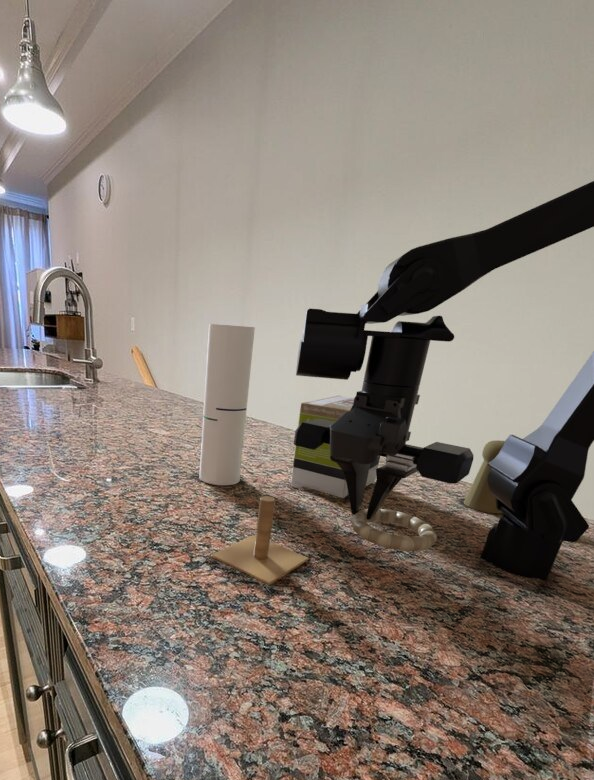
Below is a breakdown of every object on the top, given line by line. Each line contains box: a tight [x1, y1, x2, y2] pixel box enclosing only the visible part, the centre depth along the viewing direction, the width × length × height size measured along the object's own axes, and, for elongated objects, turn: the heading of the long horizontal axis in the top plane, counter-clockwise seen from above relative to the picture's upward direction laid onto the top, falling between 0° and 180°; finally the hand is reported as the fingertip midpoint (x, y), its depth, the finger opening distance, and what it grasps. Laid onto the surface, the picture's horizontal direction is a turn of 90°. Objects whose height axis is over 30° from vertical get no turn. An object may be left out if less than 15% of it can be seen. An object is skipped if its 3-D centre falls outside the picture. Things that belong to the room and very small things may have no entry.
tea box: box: [290, 395, 381, 499], centre depth 77 cm, size 15×10×15 cm
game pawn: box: [463, 440, 505, 514], centre depth 73 cm, size 6×6×11 cm
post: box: [210, 495, 310, 586], centre depth 49 cm, size 8×8×8 cm
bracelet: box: [350, 508, 438, 553], centre depth 52 cm, size 9×9×2 cm
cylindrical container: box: [198, 323, 256, 486], centre depth 74 cm, size 7×7×25 cm
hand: (362, 516), depth 54 cm, fingers closed on bracelet, 1 cm apart
